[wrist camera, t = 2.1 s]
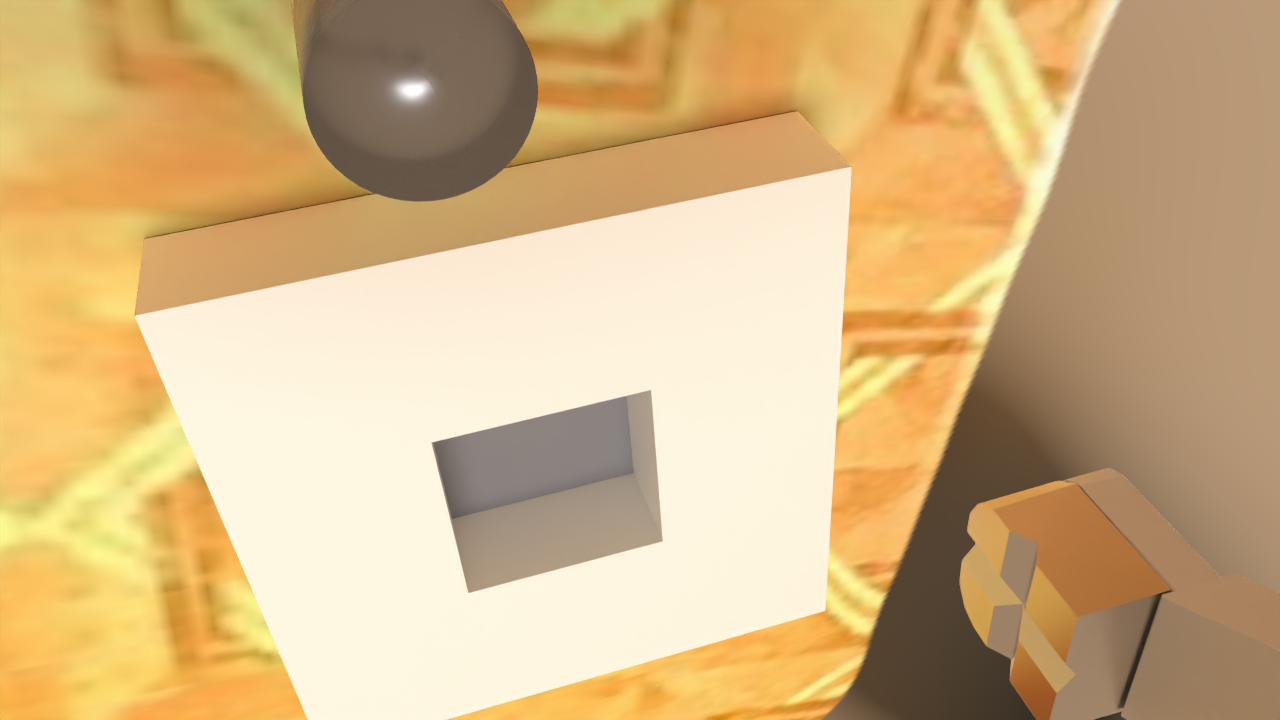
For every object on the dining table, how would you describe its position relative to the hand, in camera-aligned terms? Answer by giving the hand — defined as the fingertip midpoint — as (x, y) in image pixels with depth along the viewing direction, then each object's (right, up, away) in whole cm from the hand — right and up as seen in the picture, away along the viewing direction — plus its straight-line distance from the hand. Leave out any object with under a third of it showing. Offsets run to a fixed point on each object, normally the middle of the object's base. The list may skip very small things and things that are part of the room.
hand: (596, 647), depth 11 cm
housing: (-3, +1, +29) cm, 29 cm away
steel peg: (-7, +14, +18) cm, 23 cm away
